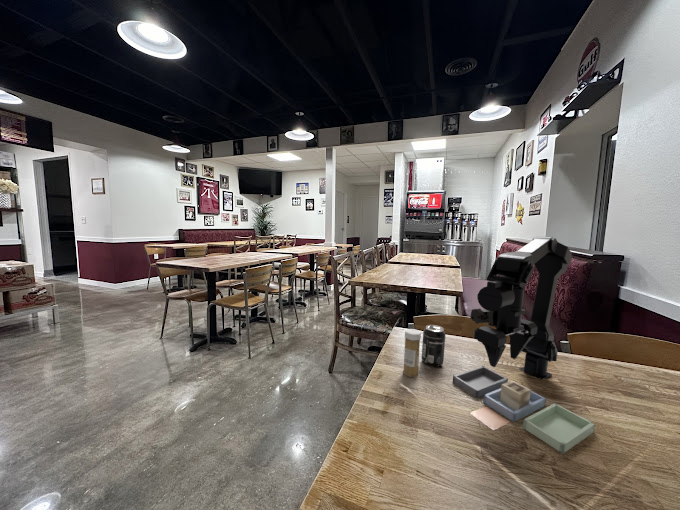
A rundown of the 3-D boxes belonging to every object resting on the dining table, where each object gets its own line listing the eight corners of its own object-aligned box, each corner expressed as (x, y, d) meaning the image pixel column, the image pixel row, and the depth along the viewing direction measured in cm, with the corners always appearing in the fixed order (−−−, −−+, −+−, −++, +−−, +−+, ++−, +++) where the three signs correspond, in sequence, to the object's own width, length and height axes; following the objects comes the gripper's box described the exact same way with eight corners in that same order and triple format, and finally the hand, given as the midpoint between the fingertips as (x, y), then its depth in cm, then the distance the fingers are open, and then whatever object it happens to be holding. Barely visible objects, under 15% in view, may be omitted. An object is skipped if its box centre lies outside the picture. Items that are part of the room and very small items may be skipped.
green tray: (553, 412, 66) (554, 403, 66) (593, 434, 59) (595, 423, 59) (522, 429, 60) (523, 419, 60) (562, 456, 53) (564, 444, 53)
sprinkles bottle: (421, 375, 81) (424, 332, 80) (411, 379, 79) (413, 335, 77) (409, 368, 85) (412, 327, 83) (399, 372, 82) (401, 330, 81)
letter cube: (510, 396, 71) (512, 380, 71) (528, 406, 67) (530, 389, 67) (499, 400, 69) (501, 384, 69) (518, 412, 65) (520, 394, 65)
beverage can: (425, 355, 93) (427, 322, 92) (445, 362, 89) (448, 327, 88) (418, 363, 88) (420, 328, 86) (439, 370, 84) (442, 333, 82)
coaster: (485, 408, 67) (485, 406, 67) (509, 424, 62) (510, 422, 62) (469, 415, 64) (469, 413, 64) (493, 433, 59) (493, 430, 59)
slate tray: (514, 390, 75) (515, 382, 74) (545, 407, 68) (546, 398, 68) (483, 404, 69) (484, 394, 68) (513, 424, 62) (514, 414, 62)
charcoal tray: (482, 373, 83) (483, 365, 83) (507, 387, 76) (508, 378, 76) (452, 384, 77) (453, 375, 77) (476, 399, 70) (477, 390, 70)
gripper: (498, 292, 80) (494, 342, 82) (457, 300, 71) (453, 356, 73) (541, 302, 70) (534, 359, 72) (499, 313, 61) (493, 377, 63)
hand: (503, 362), depth 70 cm, fingers open, 9 cm apart
